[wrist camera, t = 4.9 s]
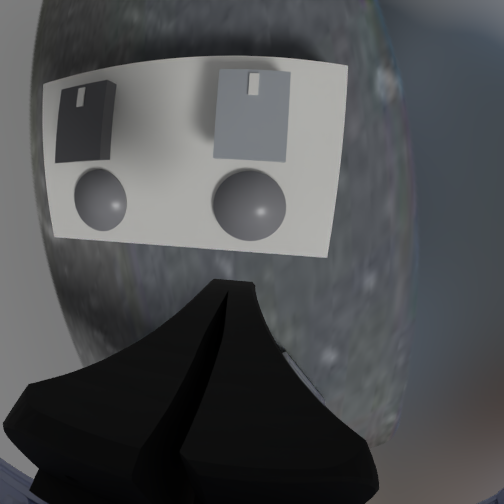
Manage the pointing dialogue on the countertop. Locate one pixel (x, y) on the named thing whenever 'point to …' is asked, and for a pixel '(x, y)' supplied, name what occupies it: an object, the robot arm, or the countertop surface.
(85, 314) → the countertop surface
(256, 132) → the block
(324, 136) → the switch panel
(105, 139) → the block
